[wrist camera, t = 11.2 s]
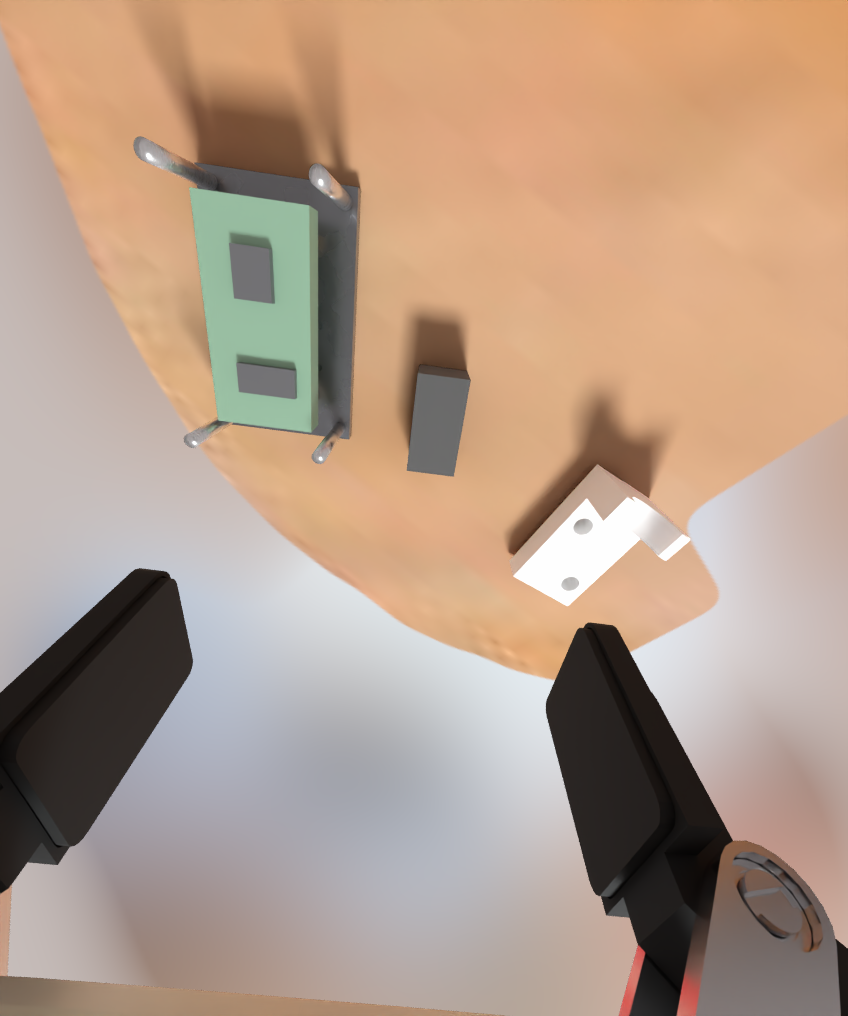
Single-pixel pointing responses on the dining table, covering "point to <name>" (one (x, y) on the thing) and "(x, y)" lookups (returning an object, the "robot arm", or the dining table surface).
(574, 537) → the bracket
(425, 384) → the block
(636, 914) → the robot arm
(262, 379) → the board
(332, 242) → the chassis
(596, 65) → the dining table surface
